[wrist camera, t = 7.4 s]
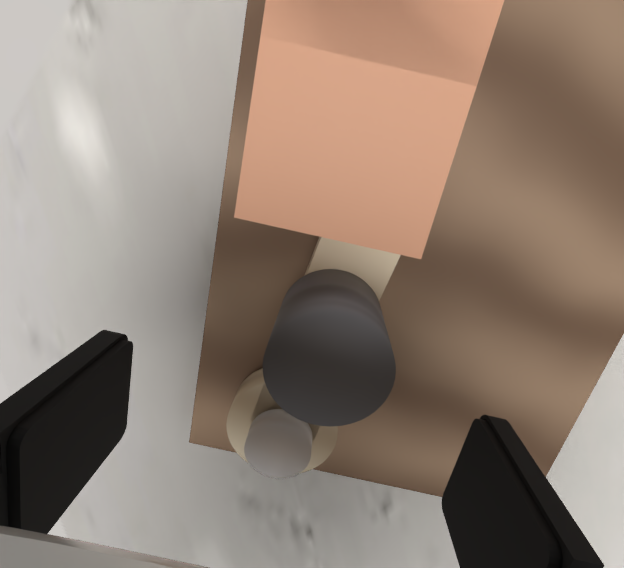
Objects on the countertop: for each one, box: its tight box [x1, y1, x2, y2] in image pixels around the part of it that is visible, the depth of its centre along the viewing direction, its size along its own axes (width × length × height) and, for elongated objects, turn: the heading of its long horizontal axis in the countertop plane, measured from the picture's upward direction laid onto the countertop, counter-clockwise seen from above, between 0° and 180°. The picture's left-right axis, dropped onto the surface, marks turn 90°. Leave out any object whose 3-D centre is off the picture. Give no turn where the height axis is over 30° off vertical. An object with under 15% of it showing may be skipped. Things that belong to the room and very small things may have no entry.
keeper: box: [234, 0, 504, 259], centre depth 13 cm, size 8×6×4 cm
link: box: [226, 237, 401, 473], centre depth 15 cm, size 14×5×6 cm, turn 160°
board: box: [189, 0, 624, 497], centre depth 16 cm, size 23×18×5 cm
